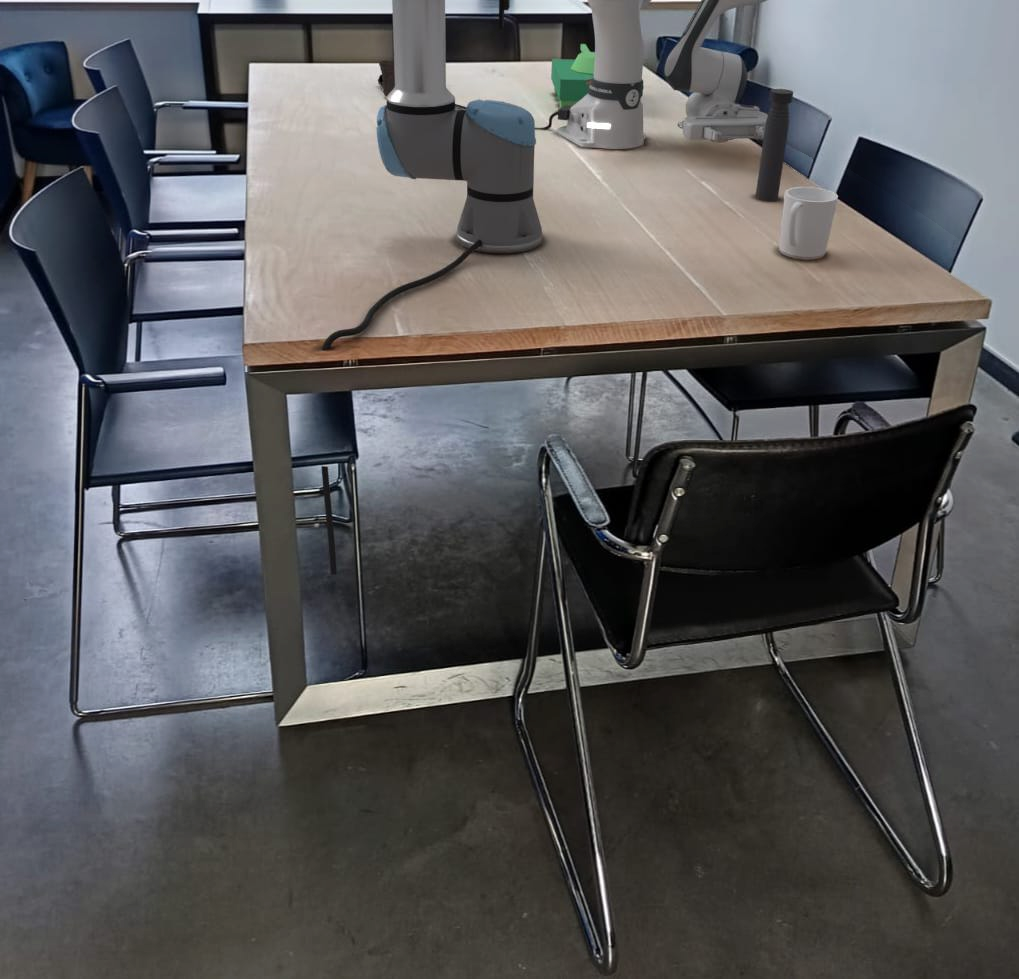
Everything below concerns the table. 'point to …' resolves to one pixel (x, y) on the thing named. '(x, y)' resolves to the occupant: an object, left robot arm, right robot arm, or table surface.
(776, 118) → the bottle
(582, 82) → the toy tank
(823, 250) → the mug
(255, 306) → the table surface
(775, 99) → the cap
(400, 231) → the table surface
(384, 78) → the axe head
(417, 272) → the table surface
